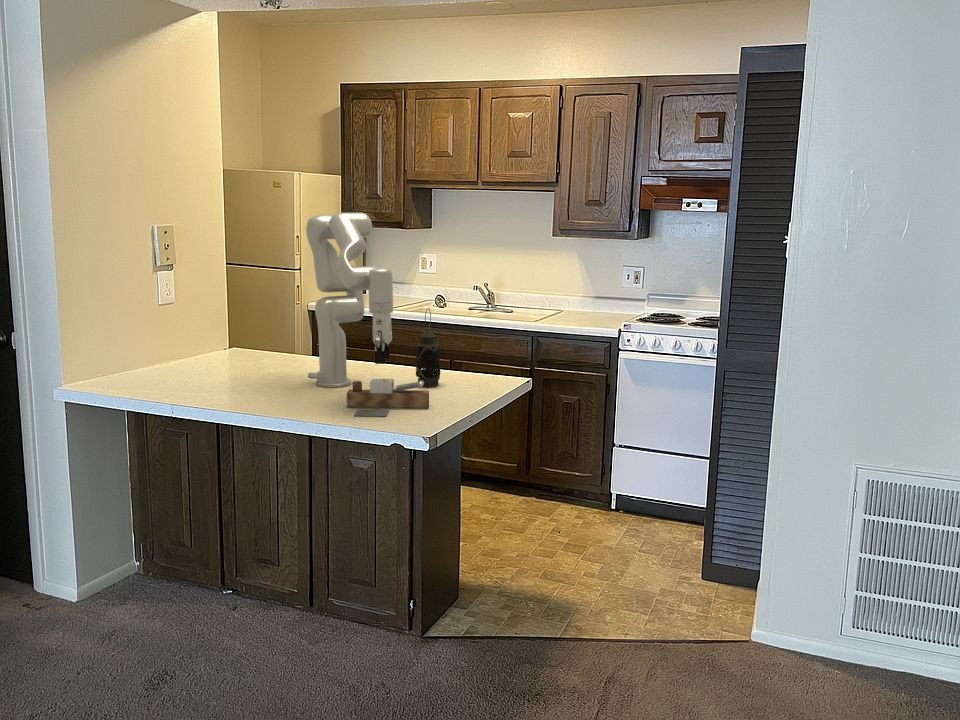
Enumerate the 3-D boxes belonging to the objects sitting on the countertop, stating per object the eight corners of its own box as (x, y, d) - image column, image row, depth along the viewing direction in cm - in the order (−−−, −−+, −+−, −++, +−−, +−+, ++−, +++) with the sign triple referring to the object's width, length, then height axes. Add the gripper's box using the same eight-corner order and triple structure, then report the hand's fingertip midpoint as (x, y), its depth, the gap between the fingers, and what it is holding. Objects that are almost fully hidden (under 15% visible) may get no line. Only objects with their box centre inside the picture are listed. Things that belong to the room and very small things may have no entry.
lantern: (436, 389, 300) (436, 310, 295) (411, 387, 302) (411, 309, 296) (443, 383, 309) (443, 306, 304) (419, 381, 311) (418, 305, 306)
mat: (353, 416, 262) (353, 415, 262) (357, 410, 269) (357, 409, 269) (386, 417, 262) (386, 415, 262) (389, 411, 269) (389, 410, 269)
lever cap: (370, 393, 272) (369, 381, 271) (372, 389, 277) (372, 377, 276) (391, 393, 271) (391, 381, 271) (393, 389, 276) (393, 378, 276)
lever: (392, 388, 271) (422, 382, 271) (394, 384, 276) (423, 379, 275) (393, 392, 272) (423, 387, 271) (395, 389, 276) (424, 384, 276)
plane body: (347, 407, 273) (346, 383, 272) (349, 404, 277) (349, 380, 276) (428, 408, 272) (427, 384, 271) (429, 405, 277) (429, 381, 275)
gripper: (389, 310, 260) (390, 366, 263) (396, 304, 277) (397, 356, 280) (364, 310, 260) (366, 365, 263) (373, 304, 277) (374, 356, 280)
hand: (382, 361), depth 272 cm, fingers open, 9 cm apart
